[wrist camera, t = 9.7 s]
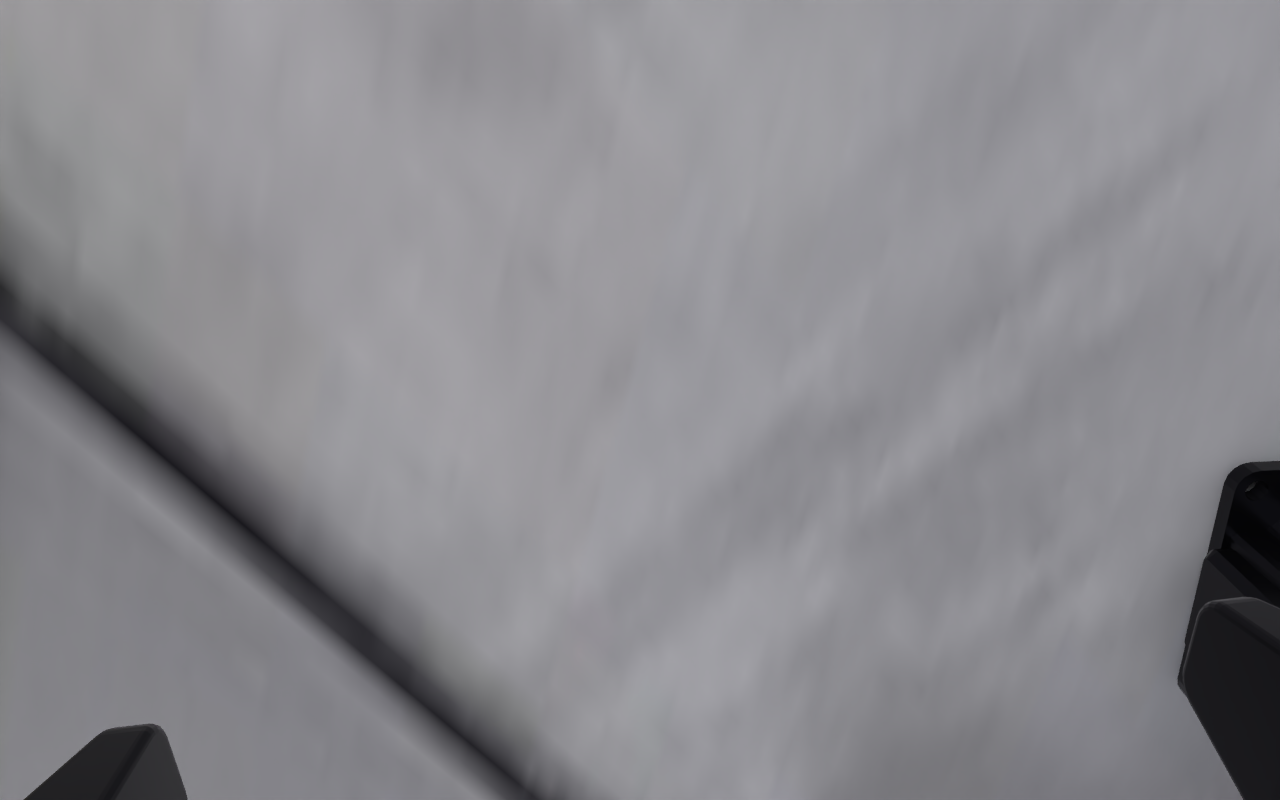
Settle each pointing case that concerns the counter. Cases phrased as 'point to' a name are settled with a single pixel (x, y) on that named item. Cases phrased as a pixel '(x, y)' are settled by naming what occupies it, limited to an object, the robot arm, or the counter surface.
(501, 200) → the counter surface
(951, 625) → the counter surface
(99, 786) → the robot arm
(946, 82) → the counter surface
